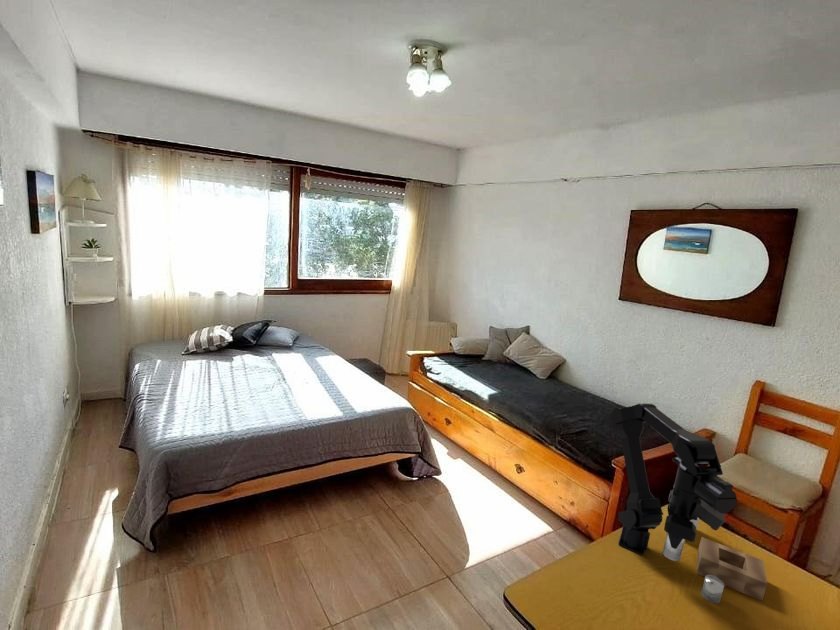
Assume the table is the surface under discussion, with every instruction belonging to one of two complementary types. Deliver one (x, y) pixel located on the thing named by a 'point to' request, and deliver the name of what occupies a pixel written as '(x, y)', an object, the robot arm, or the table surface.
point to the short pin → (712, 588)
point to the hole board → (732, 568)
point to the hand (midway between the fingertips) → (674, 543)
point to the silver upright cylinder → (673, 550)
